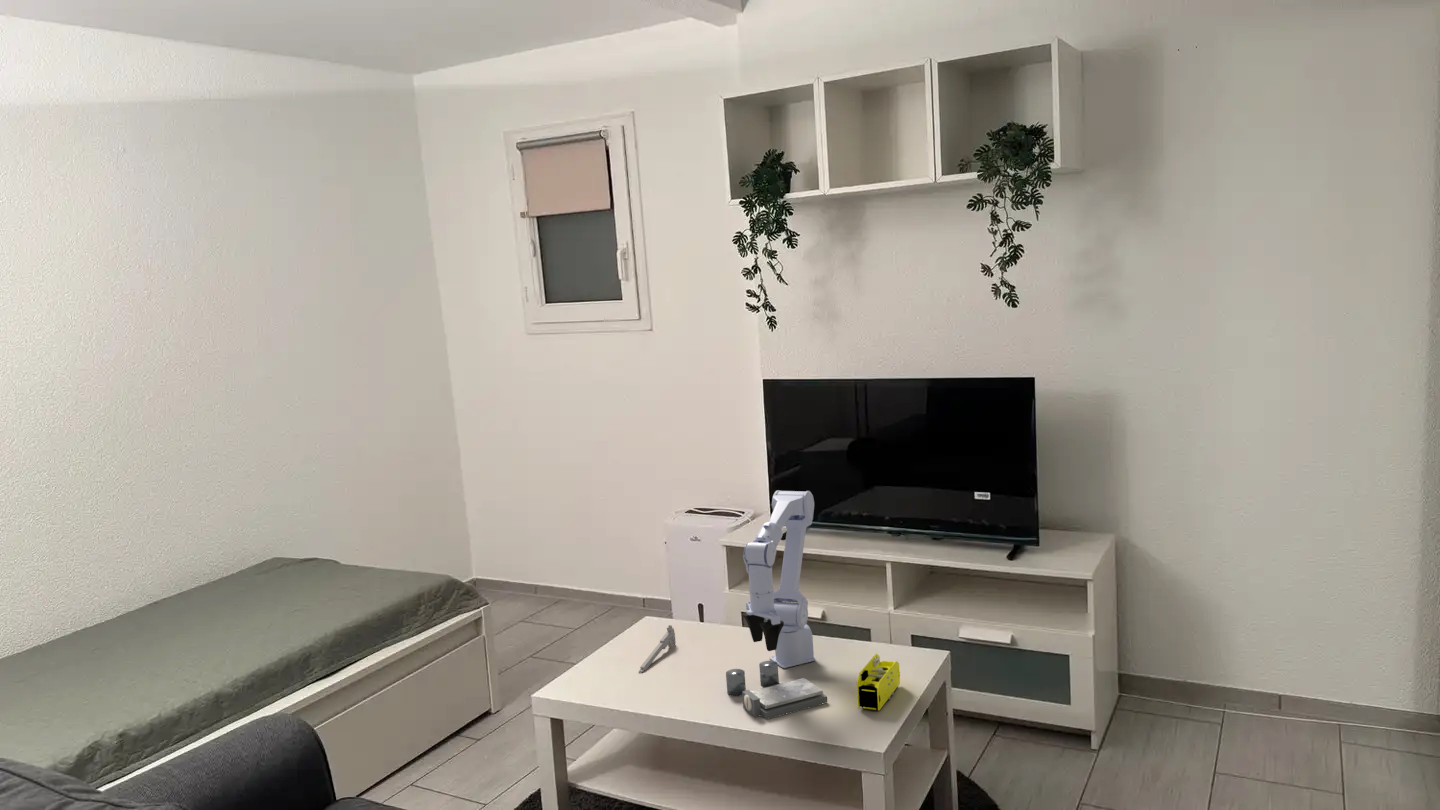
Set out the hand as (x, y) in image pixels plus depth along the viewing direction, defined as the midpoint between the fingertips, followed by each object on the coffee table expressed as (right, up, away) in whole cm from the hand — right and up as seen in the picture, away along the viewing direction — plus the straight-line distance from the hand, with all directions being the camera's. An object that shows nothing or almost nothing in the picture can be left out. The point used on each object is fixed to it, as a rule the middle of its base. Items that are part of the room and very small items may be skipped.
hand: (764, 645), depth 253 cm
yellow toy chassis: (+26, -10, -11) cm, 30 cm away
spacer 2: (+1, -10, +2) cm, 10 cm away
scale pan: (+4, -9, -10) cm, 14 cm away
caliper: (-27, -9, +24) cm, 37 cm away
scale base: (+5, -11, -10) cm, 15 cm away
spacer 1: (-7, -11, -2) cm, 13 cm away
